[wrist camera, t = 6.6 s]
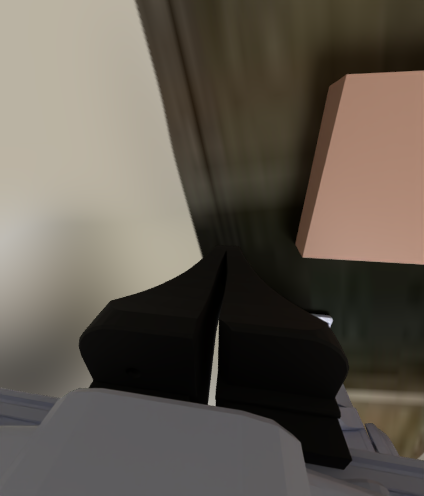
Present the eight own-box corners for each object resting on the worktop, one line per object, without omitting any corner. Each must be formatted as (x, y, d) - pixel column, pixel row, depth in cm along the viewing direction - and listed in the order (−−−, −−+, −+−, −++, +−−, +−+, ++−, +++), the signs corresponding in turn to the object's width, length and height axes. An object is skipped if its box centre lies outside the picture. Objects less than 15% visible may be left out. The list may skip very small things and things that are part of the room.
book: (468, 250, 17) (509, 269, 15) (293, 242, 19) (302, 257, 17) (588, 77, 12) (687, 57, 9) (326, 88, 14) (346, 74, 11)
